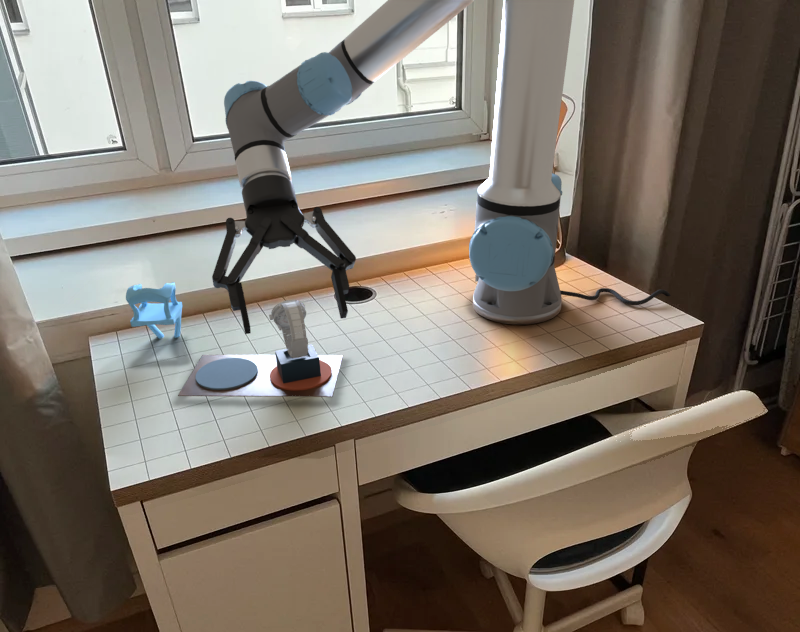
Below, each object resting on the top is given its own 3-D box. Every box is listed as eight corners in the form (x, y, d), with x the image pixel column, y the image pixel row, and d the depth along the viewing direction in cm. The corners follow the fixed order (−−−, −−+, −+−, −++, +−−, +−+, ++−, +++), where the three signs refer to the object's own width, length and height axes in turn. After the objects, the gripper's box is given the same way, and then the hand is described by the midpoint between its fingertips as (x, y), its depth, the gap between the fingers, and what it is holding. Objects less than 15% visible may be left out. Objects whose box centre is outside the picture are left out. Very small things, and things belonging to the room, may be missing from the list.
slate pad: (263, 359, 108) (263, 357, 107) (250, 390, 100) (249, 388, 100) (205, 359, 108) (205, 357, 108) (187, 390, 100) (187, 388, 100)
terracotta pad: (335, 359, 107) (335, 357, 107) (327, 390, 99) (326, 389, 99) (276, 359, 107) (276, 357, 107) (264, 390, 100) (263, 388, 100)
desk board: (343, 361, 109) (343, 354, 108) (333, 403, 99) (332, 396, 98) (203, 361, 110) (202, 354, 109) (179, 402, 100) (177, 395, 99)
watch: (310, 356, 107) (303, 289, 101) (324, 381, 101) (317, 311, 95) (274, 363, 106) (264, 295, 100) (285, 389, 99) (275, 318, 93)
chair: (195, 338, 117) (181, 270, 110) (185, 363, 110) (169, 291, 103) (147, 341, 116) (131, 272, 110) (135, 366, 109) (116, 294, 103)
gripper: (347, 190, 109) (378, 317, 105) (181, 209, 103) (207, 346, 99) (353, 162, 102) (387, 298, 98) (175, 182, 96) (203, 327, 92)
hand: (296, 322), depth 98 cm, fingers open, 13 cm apart
